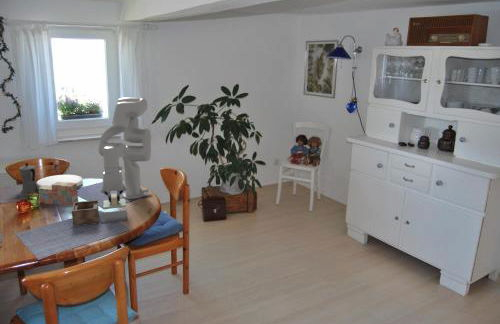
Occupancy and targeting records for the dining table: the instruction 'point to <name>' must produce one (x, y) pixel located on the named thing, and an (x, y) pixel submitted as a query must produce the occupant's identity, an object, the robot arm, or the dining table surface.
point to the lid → (114, 203)
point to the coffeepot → (28, 178)
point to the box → (85, 212)
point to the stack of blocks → (59, 193)
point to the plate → (59, 180)
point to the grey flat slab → (114, 216)
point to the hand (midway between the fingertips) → (114, 202)
